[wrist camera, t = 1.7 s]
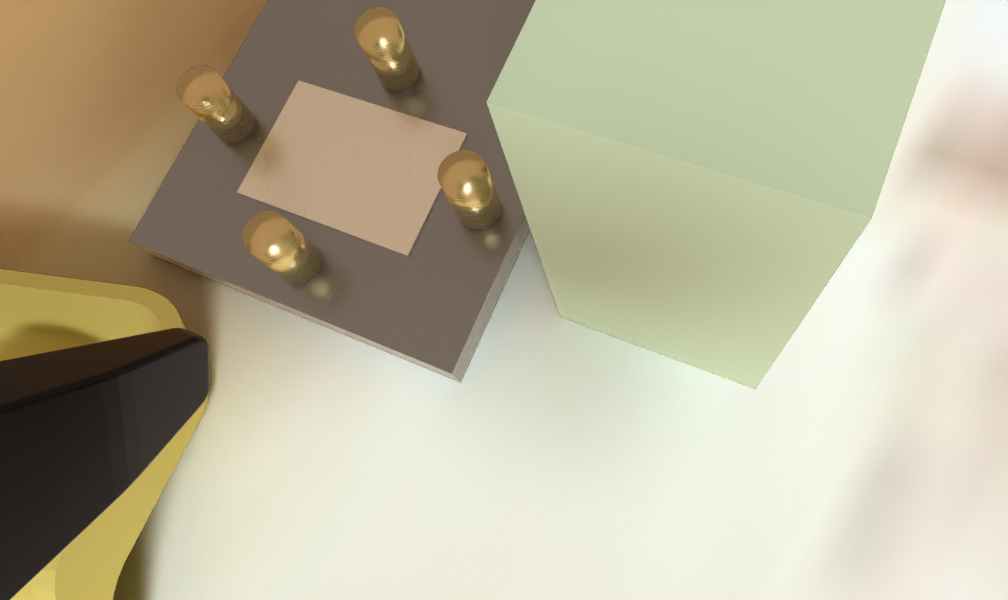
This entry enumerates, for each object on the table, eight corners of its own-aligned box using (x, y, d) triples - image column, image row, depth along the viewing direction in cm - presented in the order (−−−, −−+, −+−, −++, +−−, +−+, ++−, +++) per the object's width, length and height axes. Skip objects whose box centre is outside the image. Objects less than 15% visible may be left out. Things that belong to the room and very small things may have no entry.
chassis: (460, 382, 24) (430, 353, 20) (150, 254, 27) (79, 210, 24) (629, 7, 27) (627, -72, 23) (333, -67, 30) (293, -146, 27)
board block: (755, 389, 22) (871, 217, 11) (560, 316, 24) (486, 102, 13) (799, 265, 23) (949, -13, 12) (608, 202, 25) (580, -93, 13)
